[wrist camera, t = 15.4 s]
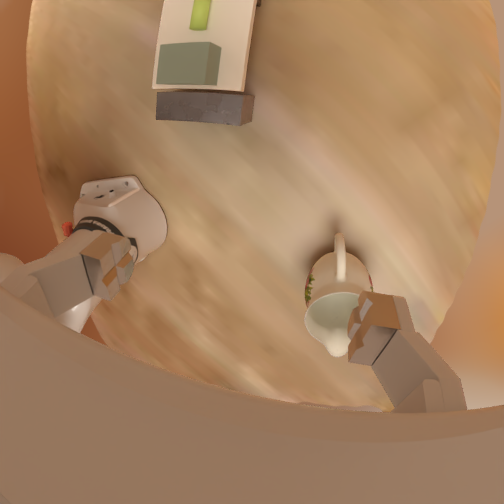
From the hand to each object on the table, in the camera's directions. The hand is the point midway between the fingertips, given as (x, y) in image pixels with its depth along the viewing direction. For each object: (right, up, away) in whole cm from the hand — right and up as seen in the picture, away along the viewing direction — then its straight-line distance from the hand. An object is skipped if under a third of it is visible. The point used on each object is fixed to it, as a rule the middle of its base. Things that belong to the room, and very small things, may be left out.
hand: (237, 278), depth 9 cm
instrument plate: (-5, +30, +15) cm, 34 cm away
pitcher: (+16, -1, +38) cm, 41 cm away
